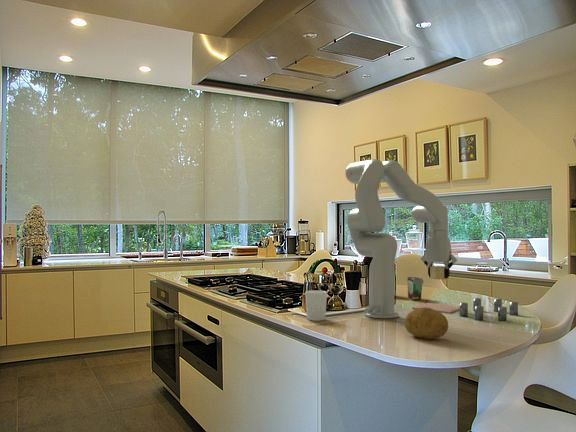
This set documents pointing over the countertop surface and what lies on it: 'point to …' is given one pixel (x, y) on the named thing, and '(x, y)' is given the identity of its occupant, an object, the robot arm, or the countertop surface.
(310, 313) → the white cup
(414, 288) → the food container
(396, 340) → the countertop surface
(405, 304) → the countertop surface
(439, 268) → the brass nut
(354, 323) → the countertop surface
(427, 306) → the terracotta mat
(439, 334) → the potato
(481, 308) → the standoff field
